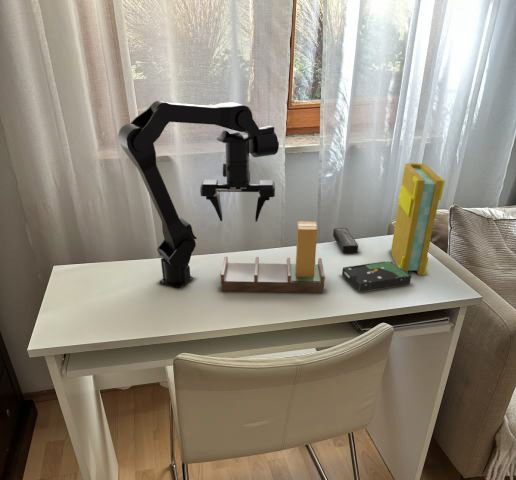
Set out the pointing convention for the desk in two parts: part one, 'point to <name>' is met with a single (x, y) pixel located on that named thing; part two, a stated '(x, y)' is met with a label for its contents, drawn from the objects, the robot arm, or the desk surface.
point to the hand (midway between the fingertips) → (238, 220)
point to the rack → (269, 278)
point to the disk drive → (375, 276)
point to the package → (306, 249)
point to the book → (416, 217)
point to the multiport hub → (345, 240)
